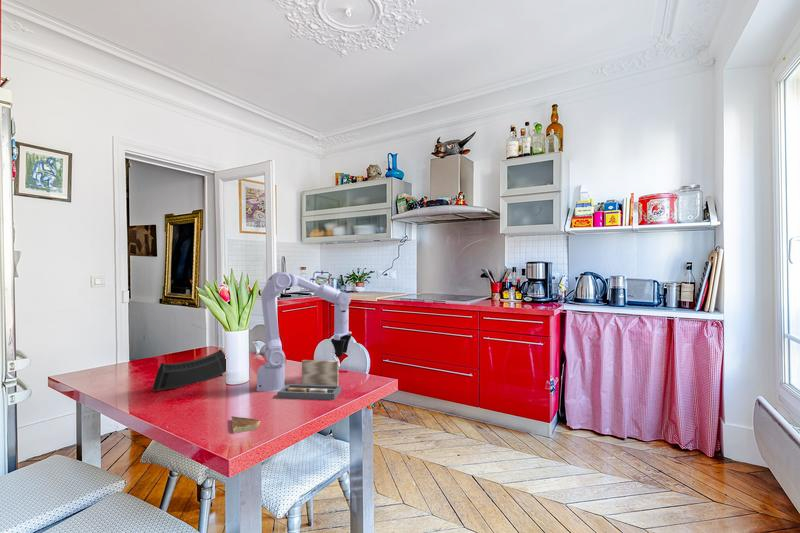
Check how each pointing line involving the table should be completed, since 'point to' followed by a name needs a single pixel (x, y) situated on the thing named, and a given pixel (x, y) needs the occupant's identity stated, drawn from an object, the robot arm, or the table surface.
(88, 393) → the table surface
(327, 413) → the table surface
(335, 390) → the rack
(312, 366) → the sheet
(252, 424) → the shard
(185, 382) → the magazine
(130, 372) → the table surface
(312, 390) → the offcut
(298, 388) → the offcut
